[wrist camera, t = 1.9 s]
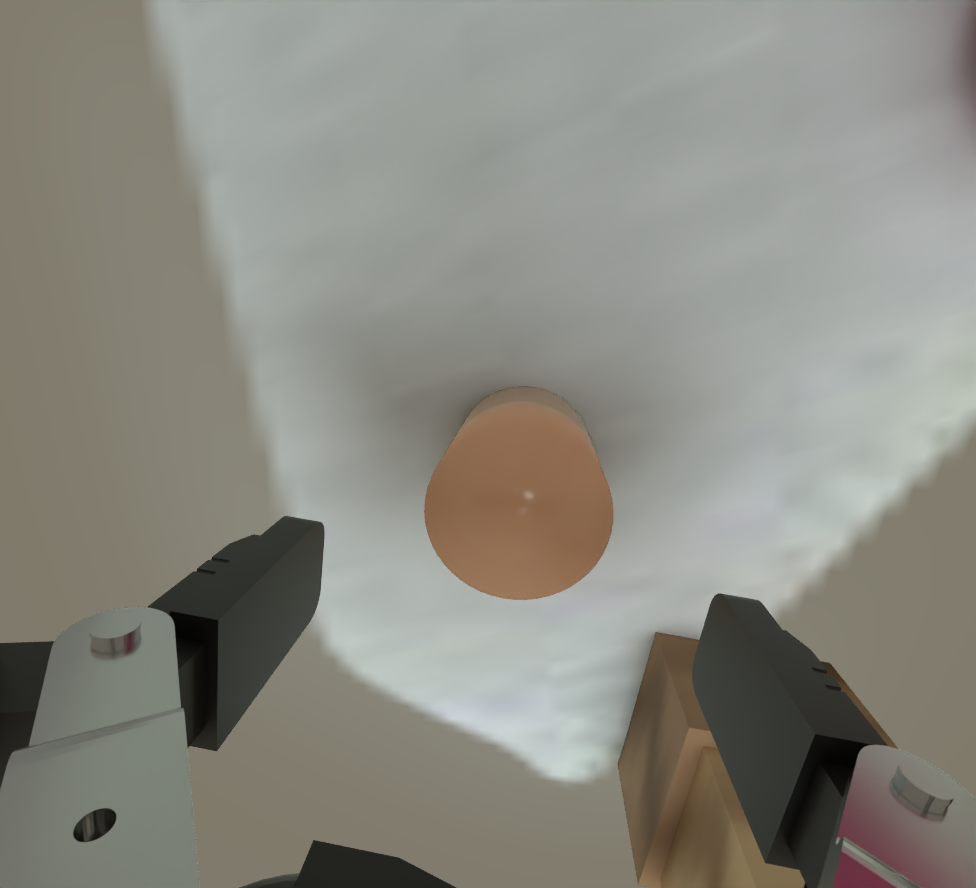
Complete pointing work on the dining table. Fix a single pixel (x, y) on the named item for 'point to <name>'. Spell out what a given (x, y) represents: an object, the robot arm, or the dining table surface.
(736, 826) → the tower top
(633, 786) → the tower base
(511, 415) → the rounded stamp handle
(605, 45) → the dining table surface
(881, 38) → the dining table surface
